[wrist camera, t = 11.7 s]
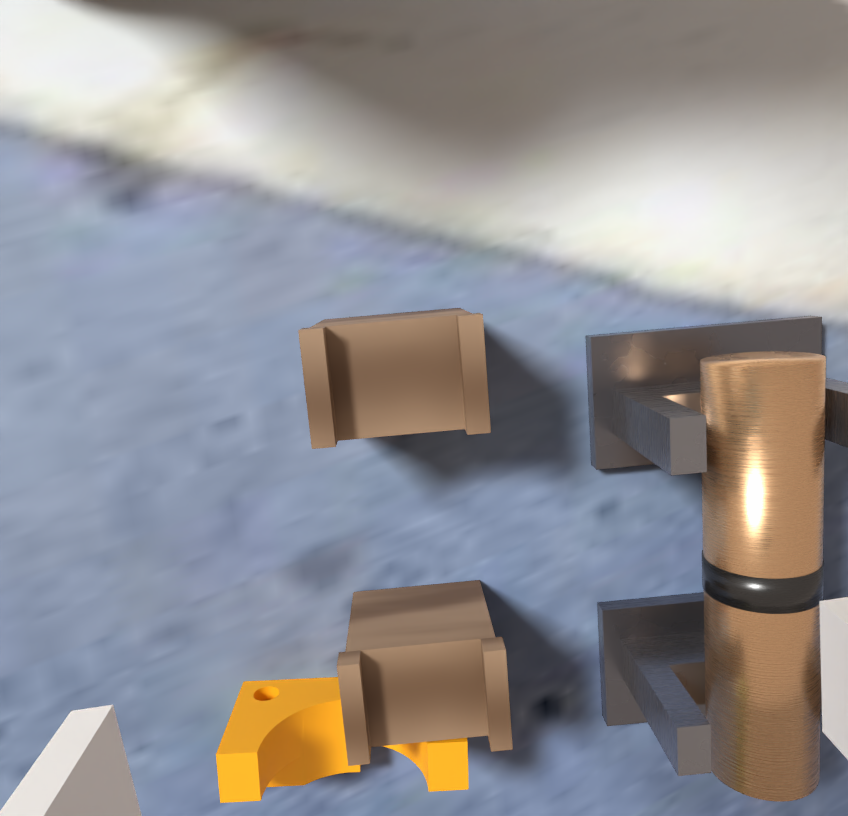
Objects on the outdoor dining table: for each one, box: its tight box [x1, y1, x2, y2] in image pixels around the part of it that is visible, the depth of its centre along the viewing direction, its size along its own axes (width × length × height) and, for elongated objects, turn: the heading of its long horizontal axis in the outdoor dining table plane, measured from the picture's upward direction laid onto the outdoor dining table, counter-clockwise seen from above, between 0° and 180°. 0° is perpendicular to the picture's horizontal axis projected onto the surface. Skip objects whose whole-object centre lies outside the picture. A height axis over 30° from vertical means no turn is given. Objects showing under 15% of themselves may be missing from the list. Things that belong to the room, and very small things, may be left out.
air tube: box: [700, 351, 826, 801], centre depth 34 cm, size 20×5×5 cm, turn 5°
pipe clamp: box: [216, 677, 468, 803], centre depth 38 cm, size 12×4×6 cm, turn 92°
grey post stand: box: [586, 316, 848, 776], centre depth 35 cm, size 22×12×9 cm, turn 5°
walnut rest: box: [298, 308, 513, 766], centre depth 35 cm, size 20×8×8 cm, turn 5°
